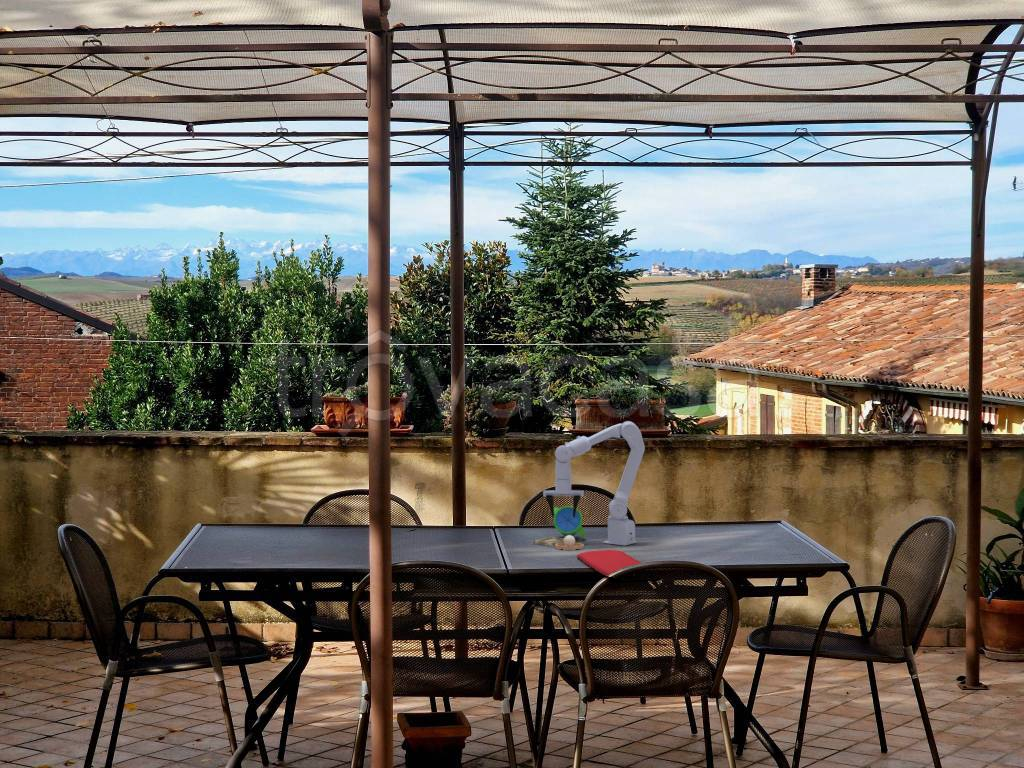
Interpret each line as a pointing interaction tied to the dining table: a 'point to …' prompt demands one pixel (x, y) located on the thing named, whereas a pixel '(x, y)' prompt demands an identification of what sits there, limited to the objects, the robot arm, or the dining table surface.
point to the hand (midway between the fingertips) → (563, 516)
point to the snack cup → (568, 521)
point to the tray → (549, 541)
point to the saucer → (564, 547)
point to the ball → (569, 540)
